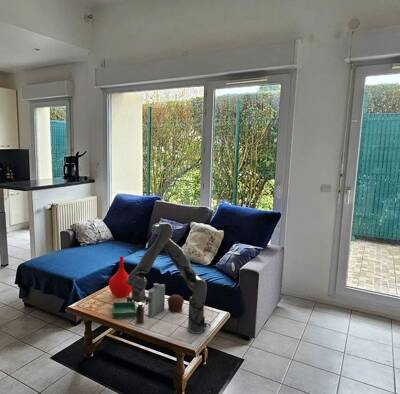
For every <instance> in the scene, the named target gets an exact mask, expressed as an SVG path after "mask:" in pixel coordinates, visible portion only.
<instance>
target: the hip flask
mask: <svg viewBox="0 0 400 394" xmlns="http://www.w3.org/2000/svg"><path fill="white" fill-rule="evenodd" d="M149 295H151V303H149V302H148V304H147V307H148V308H147V312H148V313H147V317H148V318H153V317H155V315H156V314H159V313H161V312H162V311H164V310H165V302H166V301H165V298H166V284H164V283H161V284H160V283H158V282H155V283H153V287H152V288H150V289H148V296H149Z"/></svg>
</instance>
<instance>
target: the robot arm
mask: <svg viewBox="0 0 400 394" xmlns="http://www.w3.org/2000/svg"><path fill="white" fill-rule="evenodd" d="M173 233H174V228H173V226H172V224H171V223H170V222H169V223H168V222H156V223H154V224H153V225H152V226H151V234H152V236H153V238H154V239H155V241H154V242H153V244H152V245H151V246H150V247H148V249H147V250H146V251H145V252H144V253H143V255H142V257H141V258H140V260H139V262H138V264H137V266H135V268H134V269H133V270H132V271H131V272H130V273H129V274H128V275H129V276H128V278H127V284H128V285H130V286H131V290H132V291H131V293H130V294H127V297H126V302H130V303H131V304H133V302H135V303H143V304H144V303H145V305H146V306H148V302H149V303H151V295H149V294H148V295H146V290H145V288H146V287H147V285H148V279H147V278H146V277H145V276H143V275H140V273H143V274H149V273H150V271H151V269H152V268H153V265H154V264H155V261H156V260H157V258H158V256H159V254H160V253H161V251H162V250H164V252H165V253H166V255H167V256H168V257H169V260H171V263H172V264H173V265H174V267H175V268H176V270H177V271H178V272H179V273H180V274H181V275H182V277H183V279H184V281H185V283H186V284H187V285H186V286H188V289H189V290H191V291H192V296H190V297H189V298H188V315H187V316H188V317H187V318H188V319H187V330H188V331H189V332H190V333H191V334H201V333H203V332H205V328H207V327H209V328H210V327H211V324H210V323H208V322H207V320H206V318H205V302H206V299H207V293H208V292H207V291H208V284H207V282H206V281H205V279H203V278H202V277H200V276H199V275H198V274H197V273H196V272H195V270H194V269H193V267H192V264H191V261H190V258H189V256H188V254H186V251H185V250H184V249H183V248H182V247H181V246H179V244H177V243H176V242H174V241H173V240H172V239H171V237H172V235H173Z"/></svg>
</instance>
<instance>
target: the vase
mask: <svg viewBox="0 0 400 394" xmlns="http://www.w3.org/2000/svg"><path fill="white" fill-rule="evenodd" d="M118 267H119V268H118V269H117V271H116V272H115V274H113V275H112V276H111V277H110V278H109V280H108V288H109V291H110V293H111V294H112V295H113V296H114V297H115V298H119V299H123V298H127V294H129V295H131V291H132V290H131V286H130V285H128V284H127V278H128V276H129V275H130V274H128V273H127V271H126V270H125V268H124V256H123V255H120V256H119V265H118Z"/></svg>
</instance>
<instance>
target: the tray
mask: <svg viewBox="0 0 400 394" xmlns="http://www.w3.org/2000/svg"><path fill="white" fill-rule="evenodd" d="M136 306H137V304H136V302H133V304H131V303H130V302H127V301H123V302H122V301H121V302H120V301H119V302H112V317H113V319H129V318H136Z"/></svg>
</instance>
